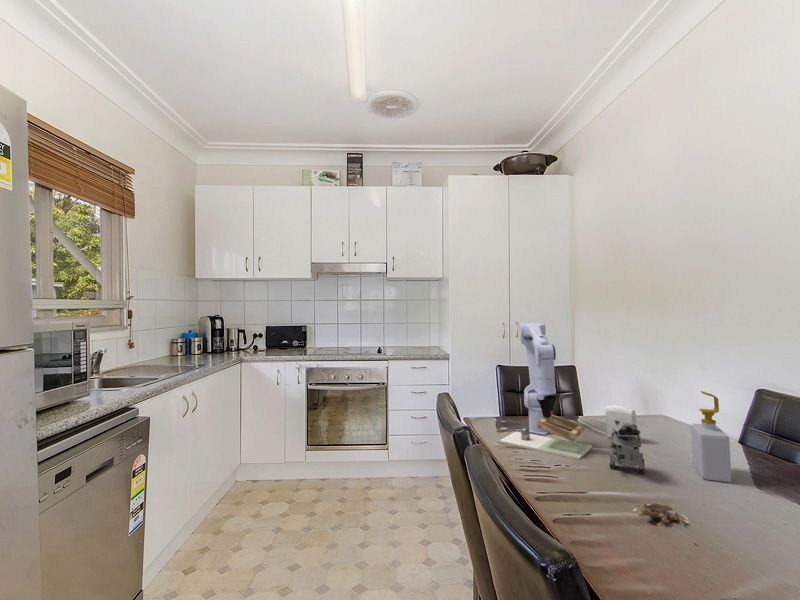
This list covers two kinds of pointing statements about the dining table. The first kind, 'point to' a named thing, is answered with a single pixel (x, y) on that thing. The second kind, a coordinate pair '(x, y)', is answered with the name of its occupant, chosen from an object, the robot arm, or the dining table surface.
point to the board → (536, 444)
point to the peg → (525, 433)
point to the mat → (564, 446)
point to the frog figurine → (661, 513)
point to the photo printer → (618, 416)
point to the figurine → (626, 445)
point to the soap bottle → (711, 447)
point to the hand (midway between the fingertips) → (547, 416)
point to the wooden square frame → (558, 431)
